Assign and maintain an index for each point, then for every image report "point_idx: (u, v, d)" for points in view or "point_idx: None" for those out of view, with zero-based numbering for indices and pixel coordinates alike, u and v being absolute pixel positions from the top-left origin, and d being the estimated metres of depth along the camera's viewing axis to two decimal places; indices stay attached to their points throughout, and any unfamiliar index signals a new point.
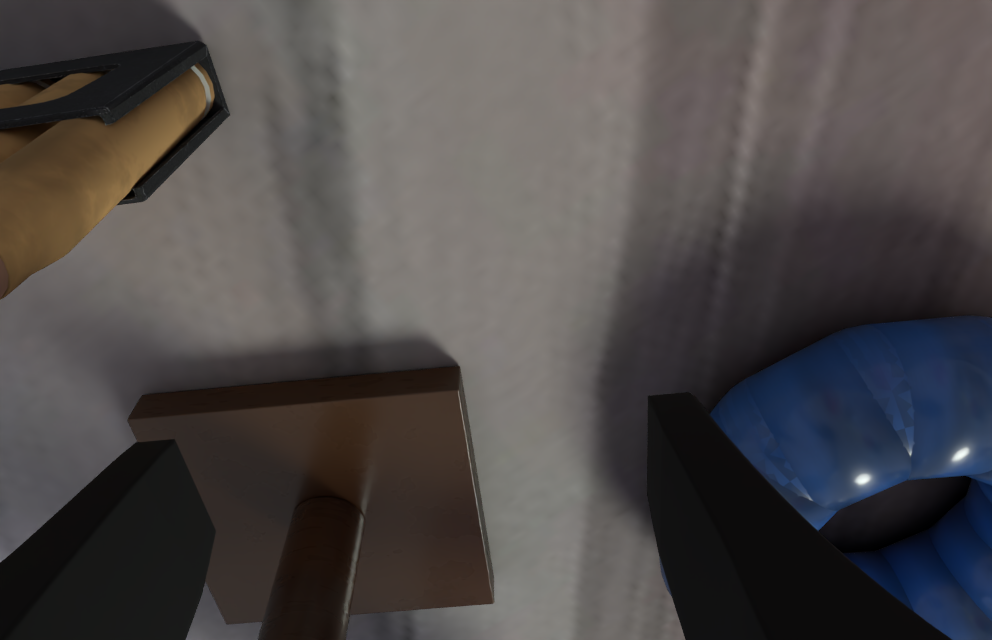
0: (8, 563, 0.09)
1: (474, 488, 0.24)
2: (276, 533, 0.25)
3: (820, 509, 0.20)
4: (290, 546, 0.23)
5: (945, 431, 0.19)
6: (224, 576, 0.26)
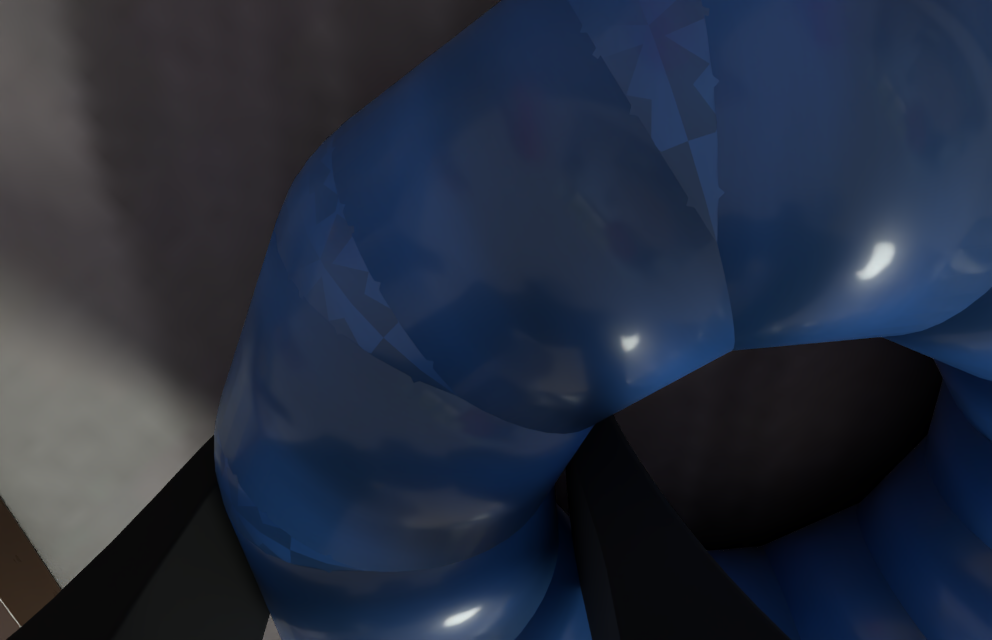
0: (106, 555, 0.09)
1: None
2: None
3: (493, 424, 0.07)
4: None
5: (819, 151, 0.06)
6: None
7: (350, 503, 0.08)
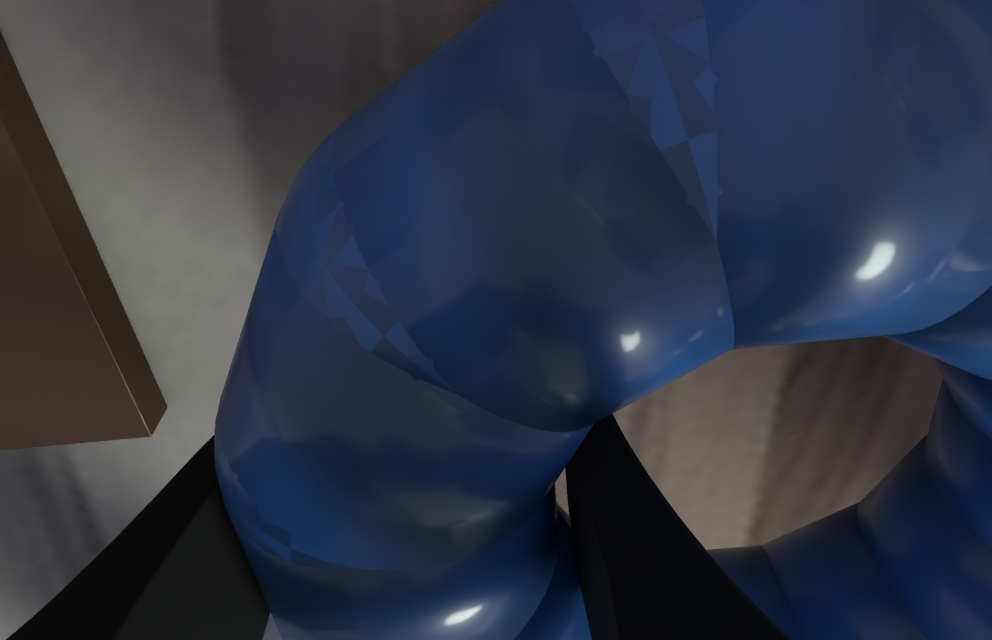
0: (107, 555, 0.09)
1: (52, 228, 0.16)
2: None
3: (493, 423, 0.07)
4: None
5: (819, 149, 0.06)
6: None
7: (350, 501, 0.08)
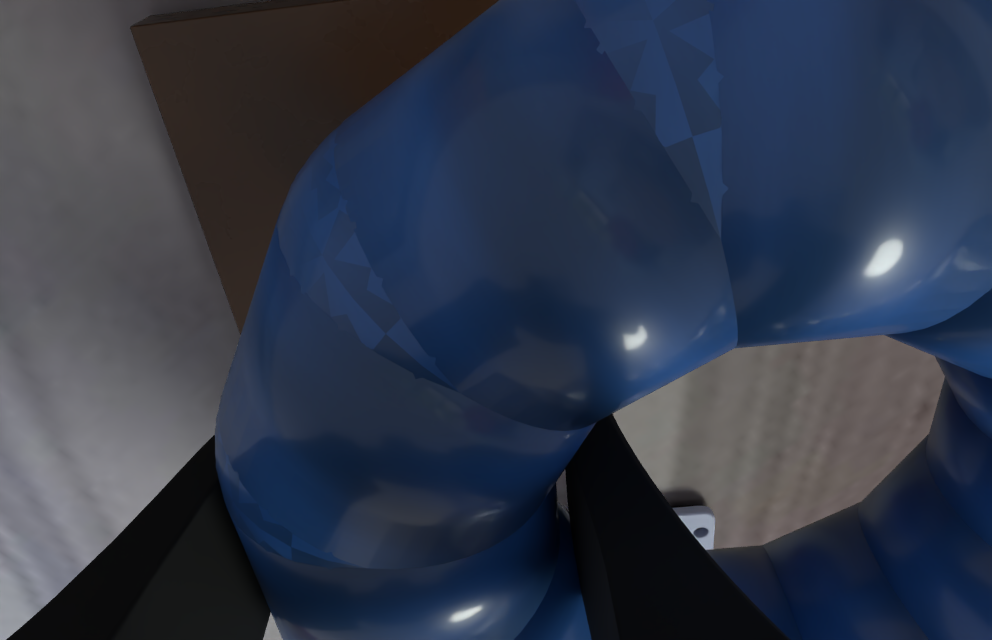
0: (107, 555, 0.09)
1: None
2: None
3: (495, 421, 0.07)
4: None
5: (824, 147, 0.06)
6: None
7: (351, 500, 0.08)
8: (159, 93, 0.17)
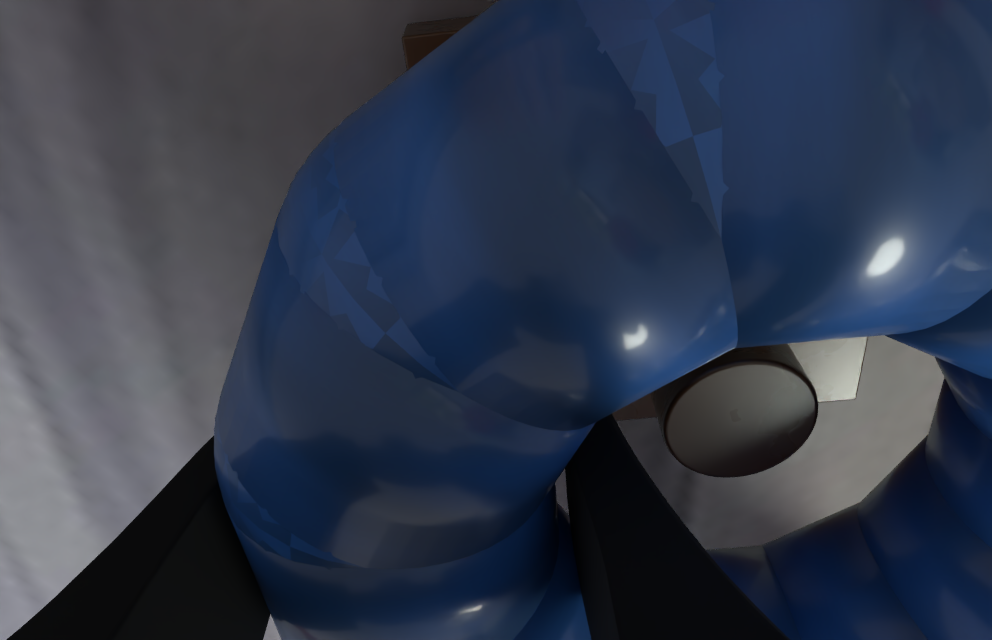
0: (107, 554, 0.09)
1: None
2: None
3: (495, 421, 0.07)
4: None
5: (824, 146, 0.06)
6: None
7: (350, 499, 0.08)
8: None
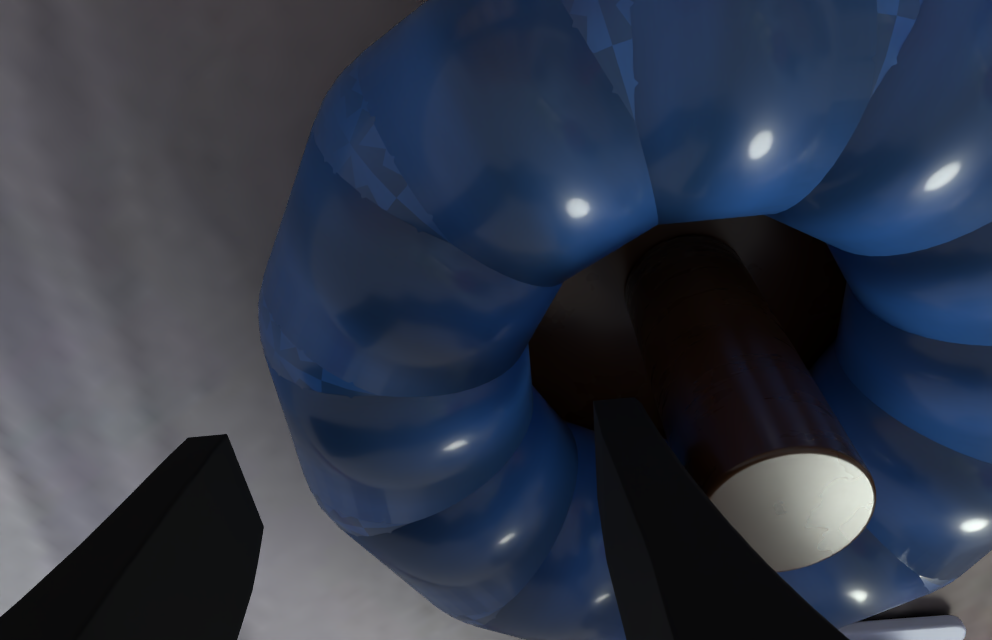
0: (74, 558, 0.09)
1: None
2: (591, 312, 0.15)
3: (477, 269, 0.10)
4: (674, 295, 0.13)
5: (704, 53, 0.08)
6: None
7: (369, 336, 0.10)
8: None
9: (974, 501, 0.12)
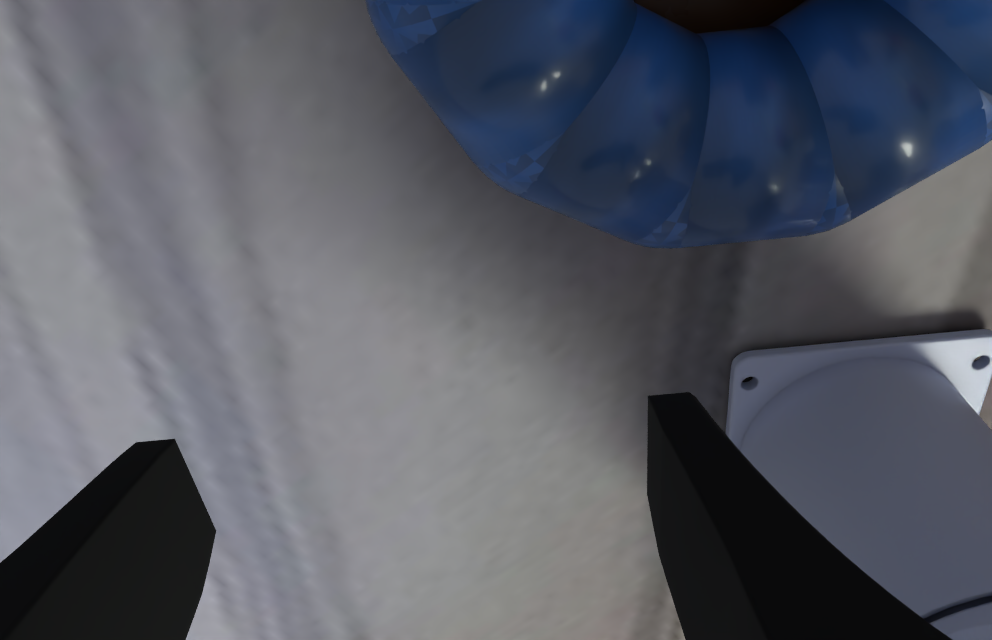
0: (8, 563, 0.09)
1: None
2: None
3: None
4: None
5: None
6: None
7: None
8: None
9: None
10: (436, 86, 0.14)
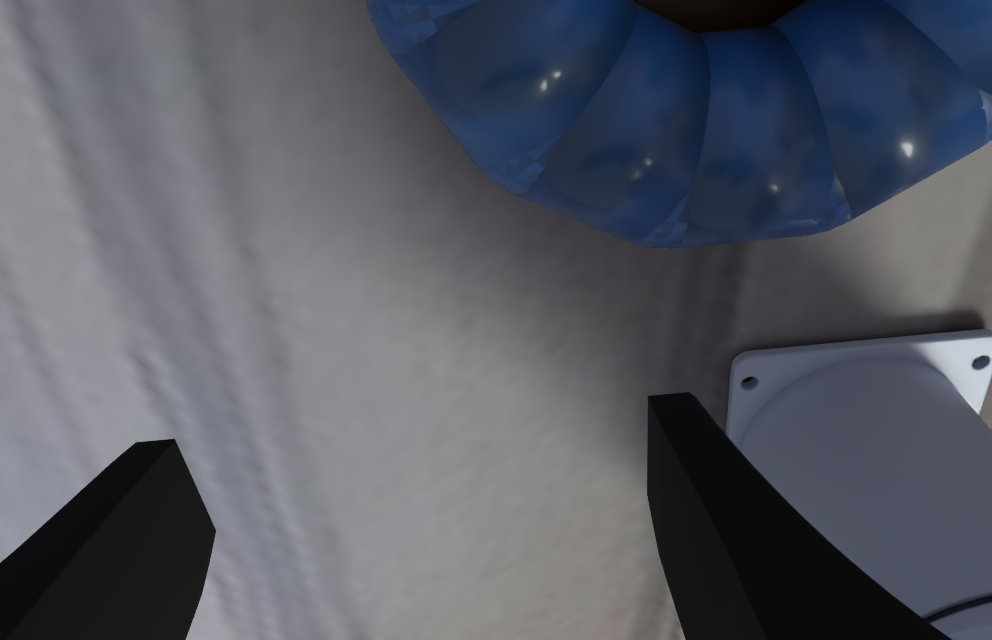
0: (9, 563, 0.09)
1: None
2: None
3: None
4: None
5: None
6: None
7: None
8: None
9: None
10: (436, 86, 0.14)
